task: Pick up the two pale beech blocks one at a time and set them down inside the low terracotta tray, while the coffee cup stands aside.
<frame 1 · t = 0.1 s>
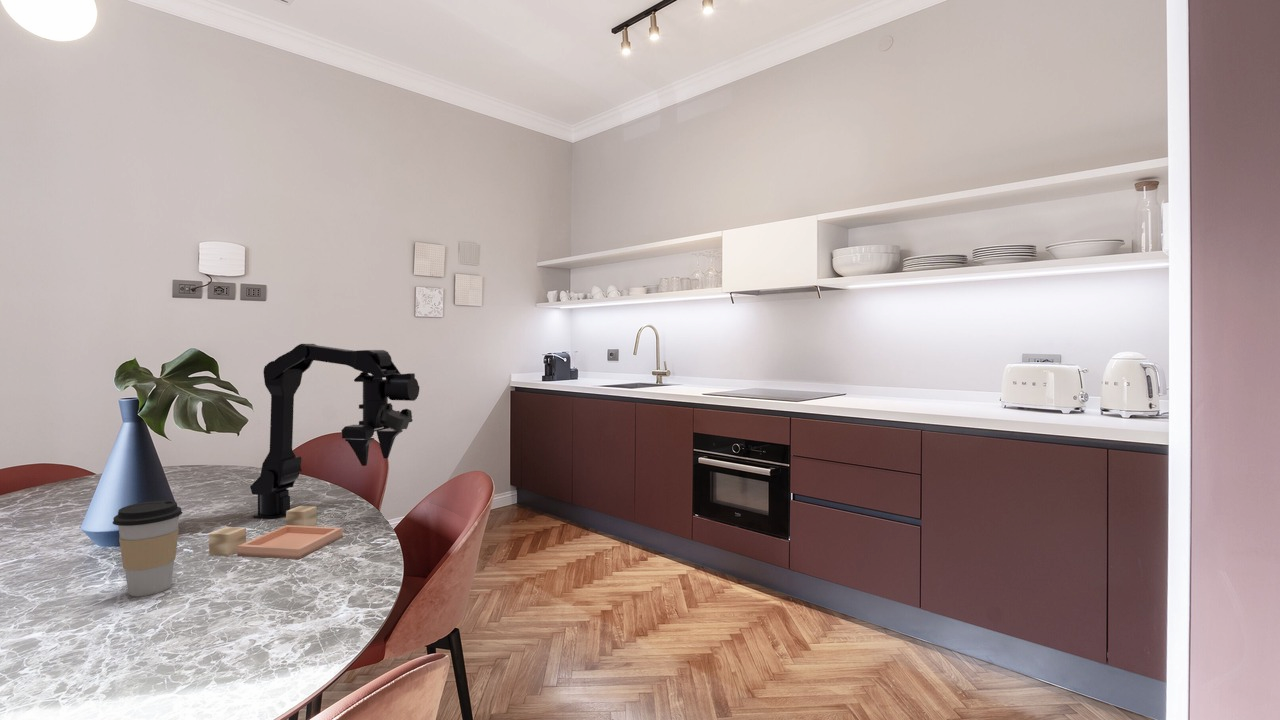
hand: (375, 461, 143), 15 cm above the table, fingers open, 9 cm apart
block a: (301, 527, 138), on the table
block b: (227, 551, 121), on the table
tray: (292, 545, 125), on the table
coffee cup: (149, 590, 102), on the table
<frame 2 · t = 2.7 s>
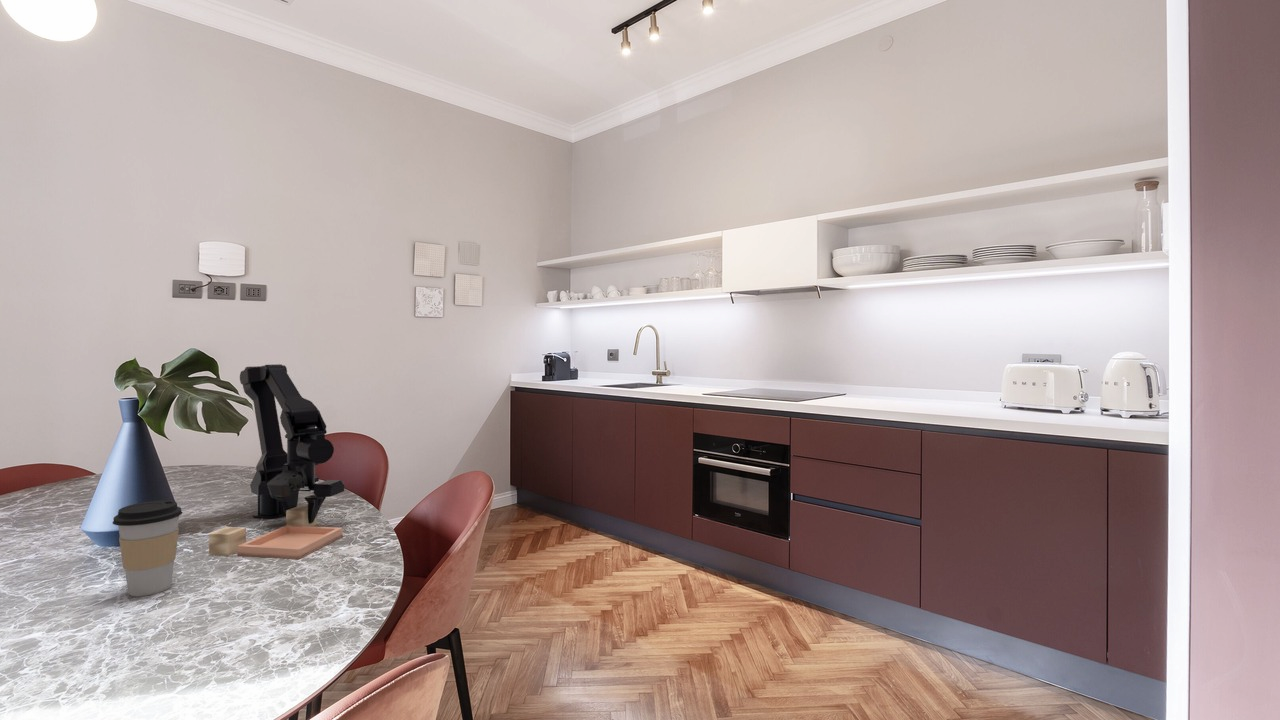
hand: (301, 522, 138), 1 cm above the table, fingers closed on block a, 4 cm apart
block a: (301, 526, 138), on the table, touching gripper
everything else where it was.
when the fingers open (4 cm above the table, at t = 5.8 s): block a drops 2 cm, resting on tray.
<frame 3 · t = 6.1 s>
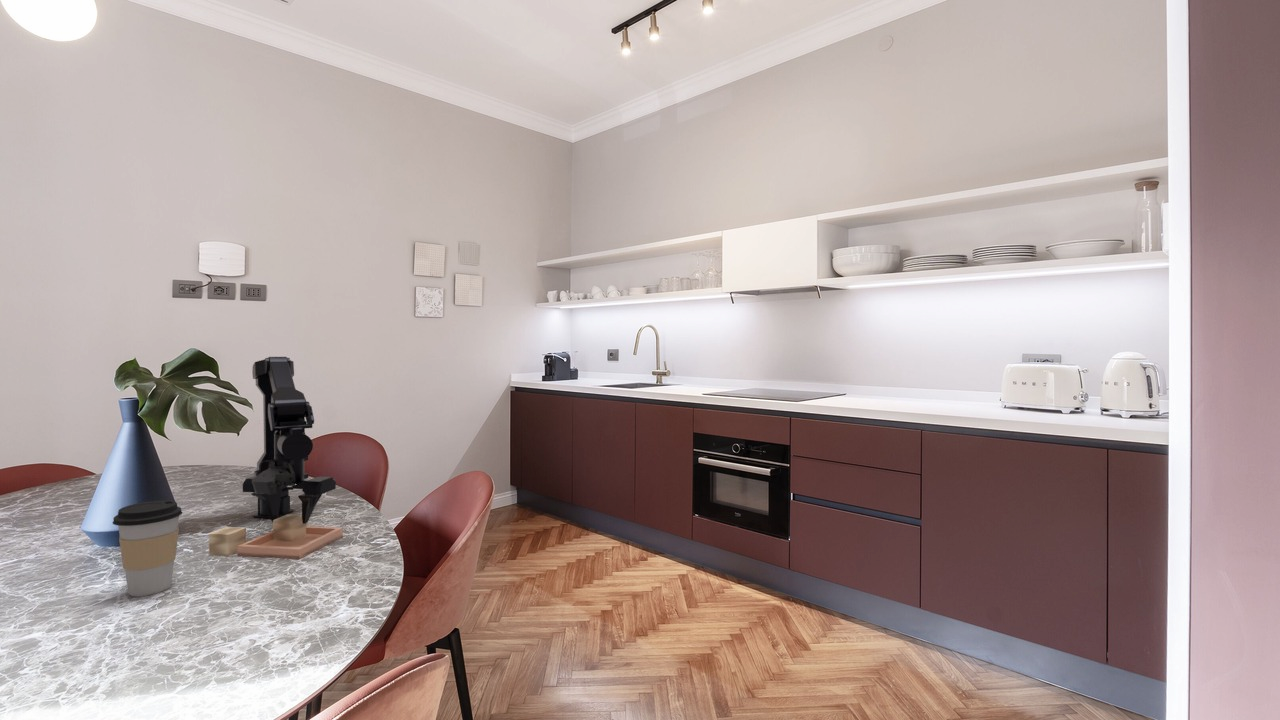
hand: (289, 522, 128), 4 cm above the table, fingers open, 7 cm apart
block a: (290, 537, 128), point 1 cm above the table, touching tray
everything else where it was.
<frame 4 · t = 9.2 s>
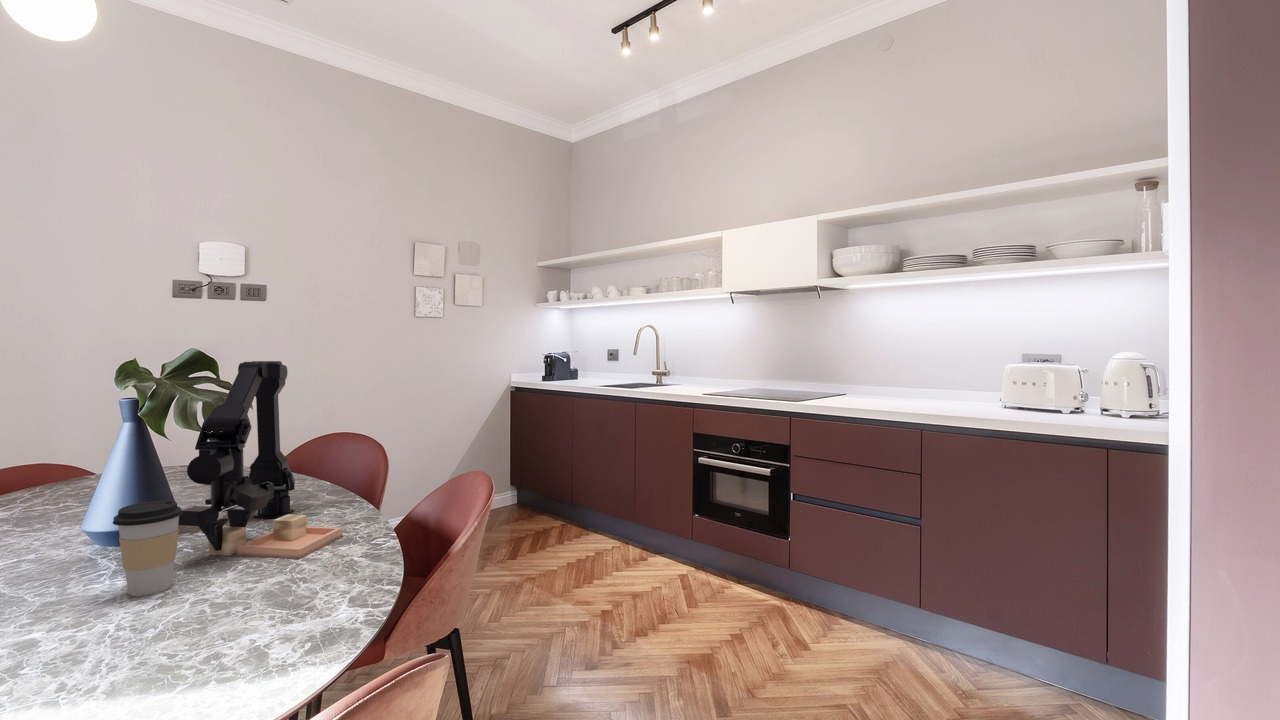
hand: (227, 546, 121), 1 cm above the table, fingers closed on block b, 4 cm apart
block b: (227, 551, 121), on the table, touching gripper
everything else where it was.
when the fingers open (4 cm above the table, at t = 12.8 s): block b drops 2 cm, resting on tray.
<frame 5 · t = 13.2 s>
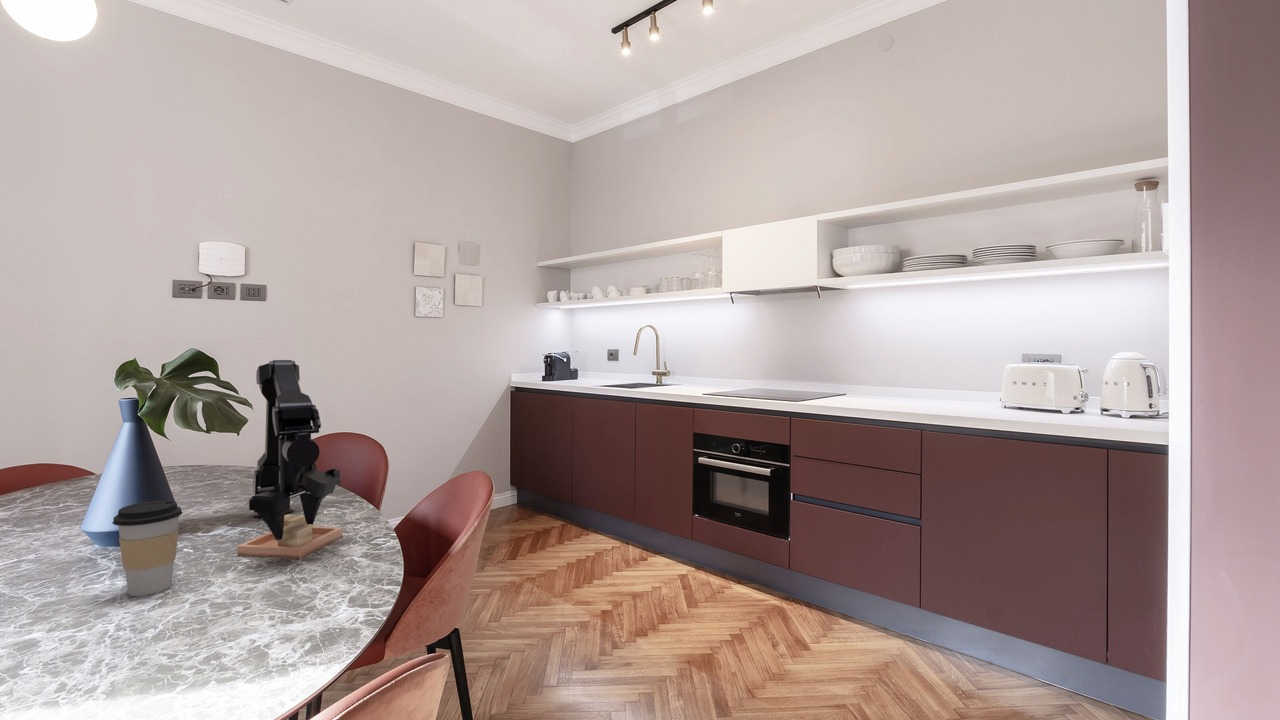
hand: (295, 532, 121), 4 cm above the table, fingers open, 9 cm apart
block b: (295, 548, 122), point 1 cm above the table, touching tray
everything else where it was.
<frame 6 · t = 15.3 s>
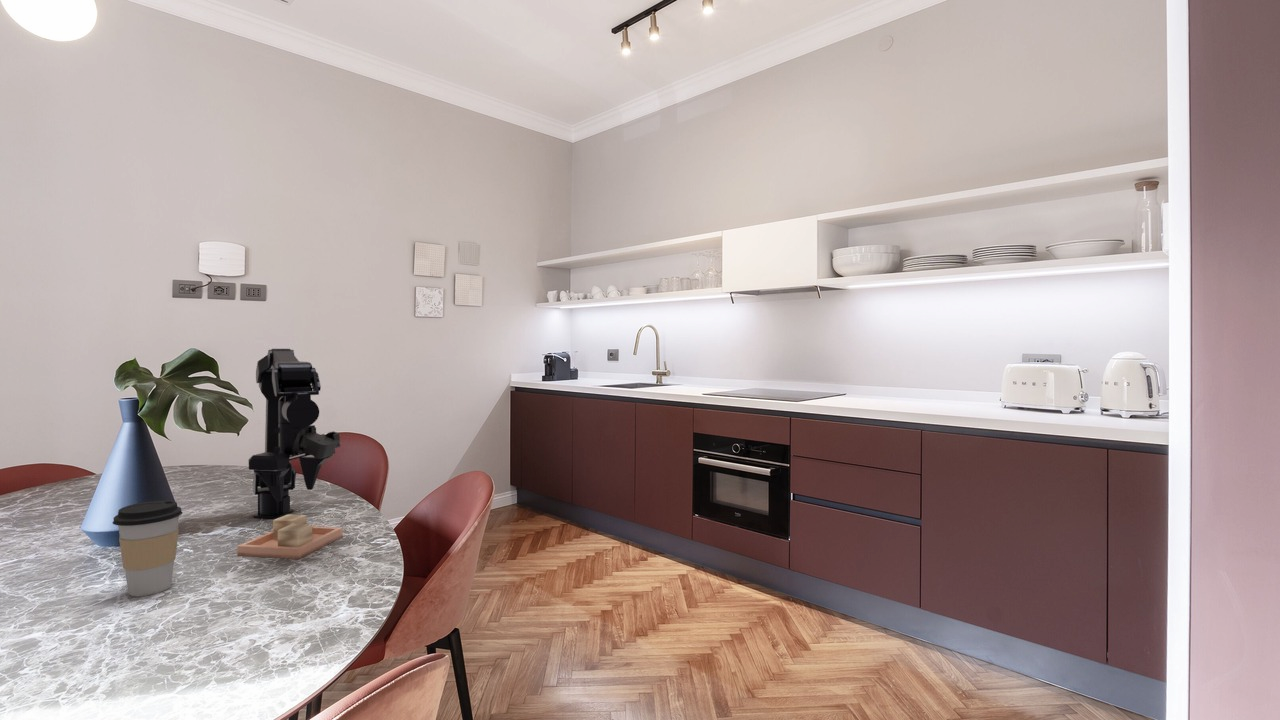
hand: (295, 495, 121), 12 cm above the table, fingers open, 9 cm apart
nothing on the table moved.
at the end: block a inside the target area on the tray (4.2 cm from its centre), point 0.6 cm above the tray's base; block b inside the target area on the tray (4.2 cm from its centre), point 0.6 cm above the tray's base; the gripper is holding nothing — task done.
